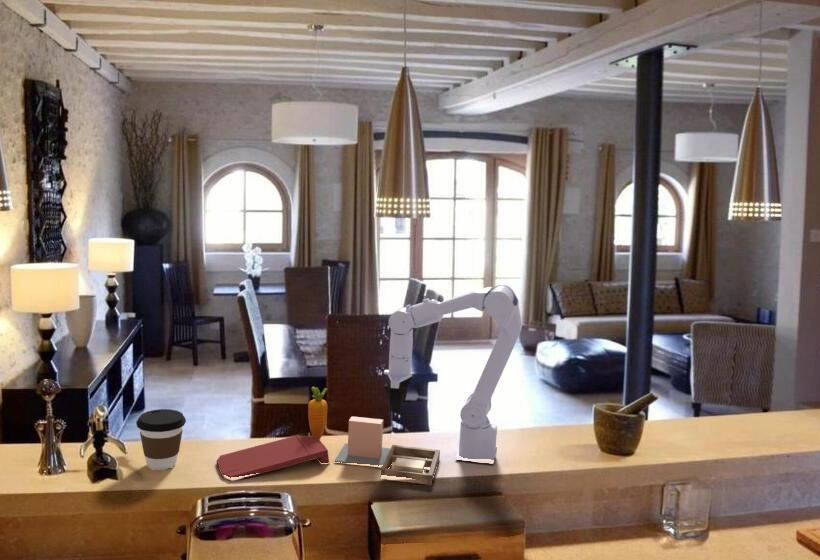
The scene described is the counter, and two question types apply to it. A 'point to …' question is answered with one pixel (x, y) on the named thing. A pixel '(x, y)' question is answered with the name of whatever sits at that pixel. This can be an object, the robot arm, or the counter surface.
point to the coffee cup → (161, 437)
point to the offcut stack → (408, 465)
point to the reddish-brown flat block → (272, 456)
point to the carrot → (317, 413)
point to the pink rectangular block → (365, 437)
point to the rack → (414, 454)
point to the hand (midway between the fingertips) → (398, 406)
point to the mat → (347, 458)
